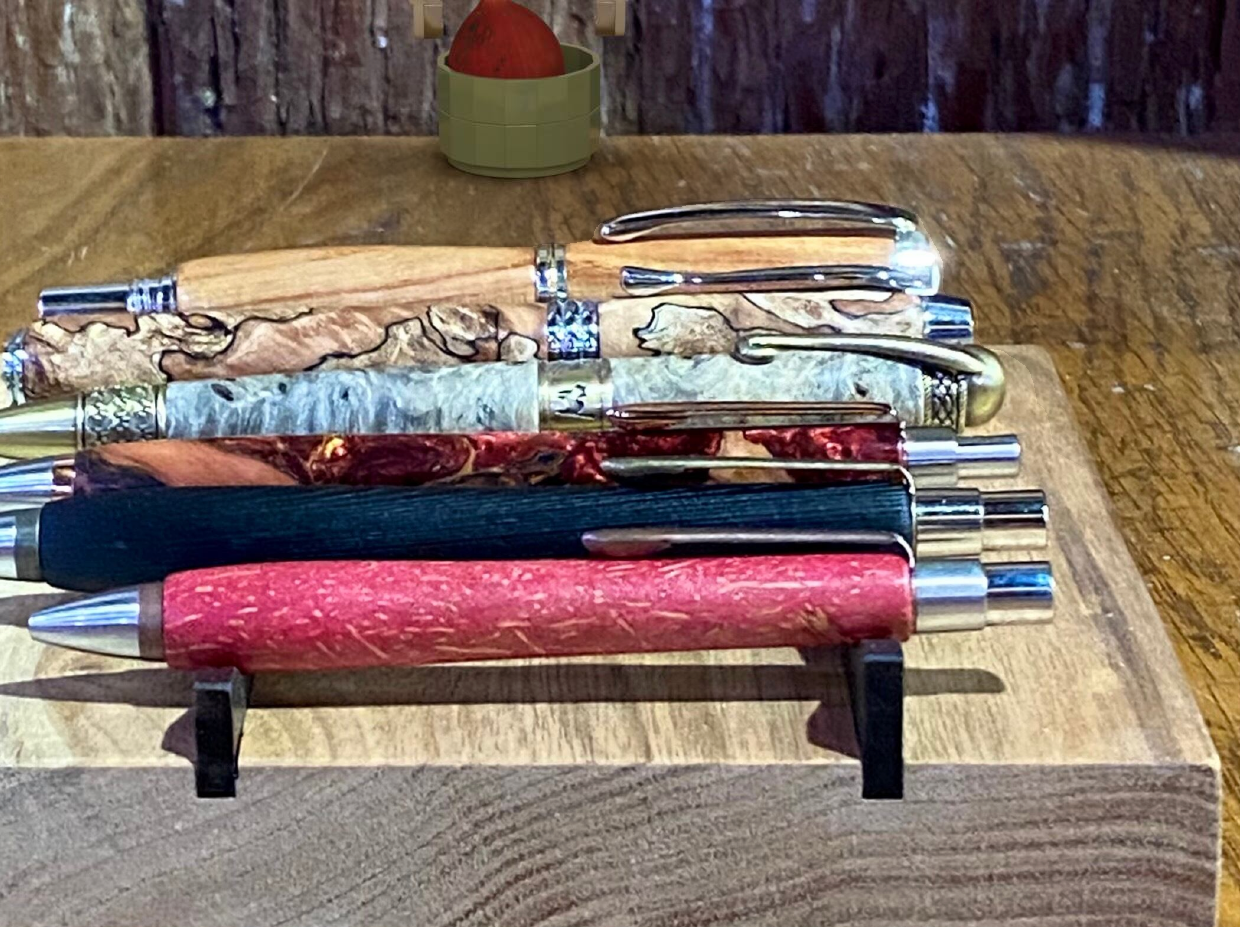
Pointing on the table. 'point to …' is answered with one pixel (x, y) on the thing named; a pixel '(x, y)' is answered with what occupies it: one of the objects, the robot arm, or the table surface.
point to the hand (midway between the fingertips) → (519, 35)
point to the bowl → (521, 119)
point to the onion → (505, 44)
